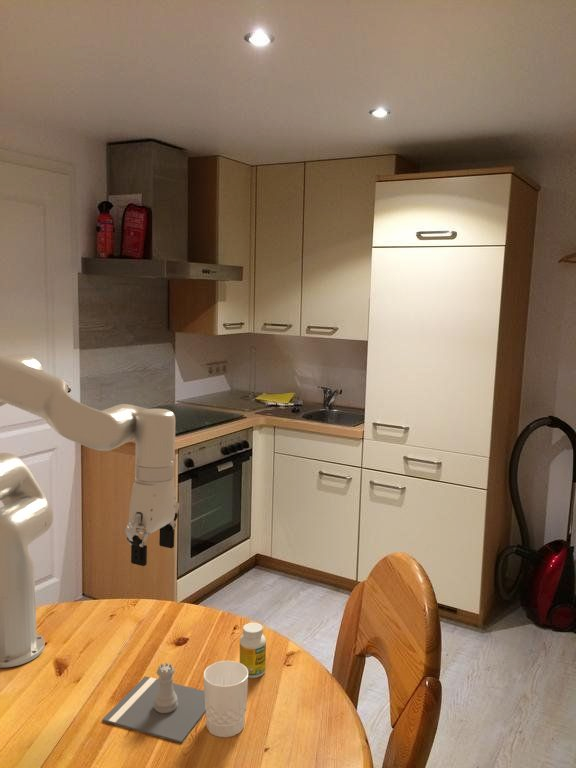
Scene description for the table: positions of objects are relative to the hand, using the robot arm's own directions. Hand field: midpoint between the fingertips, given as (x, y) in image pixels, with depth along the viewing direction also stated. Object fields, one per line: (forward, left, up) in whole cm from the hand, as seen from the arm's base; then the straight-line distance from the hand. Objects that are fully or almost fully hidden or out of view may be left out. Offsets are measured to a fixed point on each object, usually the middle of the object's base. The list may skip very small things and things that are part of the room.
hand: (153, 555), depth 128 cm
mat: (+8, -11, -24) cm, 28 cm away
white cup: (+21, -11, -24) cm, 34 cm away
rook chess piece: (+9, -11, -24) cm, 28 cm away
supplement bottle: (+19, +6, -24) cm, 32 cm away
